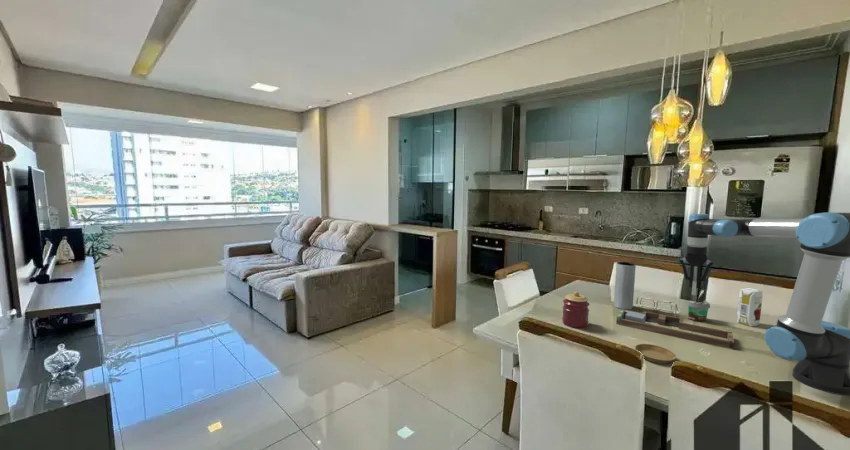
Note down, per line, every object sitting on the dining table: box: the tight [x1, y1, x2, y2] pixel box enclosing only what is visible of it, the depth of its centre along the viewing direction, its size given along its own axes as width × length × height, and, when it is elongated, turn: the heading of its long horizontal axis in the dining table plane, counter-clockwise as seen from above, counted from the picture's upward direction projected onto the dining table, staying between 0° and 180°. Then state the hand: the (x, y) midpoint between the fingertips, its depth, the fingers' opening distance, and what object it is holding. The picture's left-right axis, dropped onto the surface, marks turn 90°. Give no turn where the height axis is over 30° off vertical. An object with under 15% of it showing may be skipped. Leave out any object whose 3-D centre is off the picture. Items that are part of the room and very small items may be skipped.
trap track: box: [615, 309, 735, 350], centre depth 178 cm, size 22×47×4 cm, turn 52°
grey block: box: [624, 310, 646, 324], centre depth 184 cm, size 8×8×5 cm
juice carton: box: [736, 287, 763, 327], centre depth 184 cm, size 8×9×19 cm
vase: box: [613, 261, 637, 311], centre depth 209 cm, size 10×10×27 cm
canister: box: [561, 291, 590, 329], centre depth 183 cm, size 13×13×18 cm
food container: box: [687, 300, 711, 323], centre depth 188 cm, size 12×6×10 cm, turn 105°
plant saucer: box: [634, 343, 677, 364], centre depth 148 cm, size 15×15×3 cm
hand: (693, 294), depth 166 cm, fingers closed
